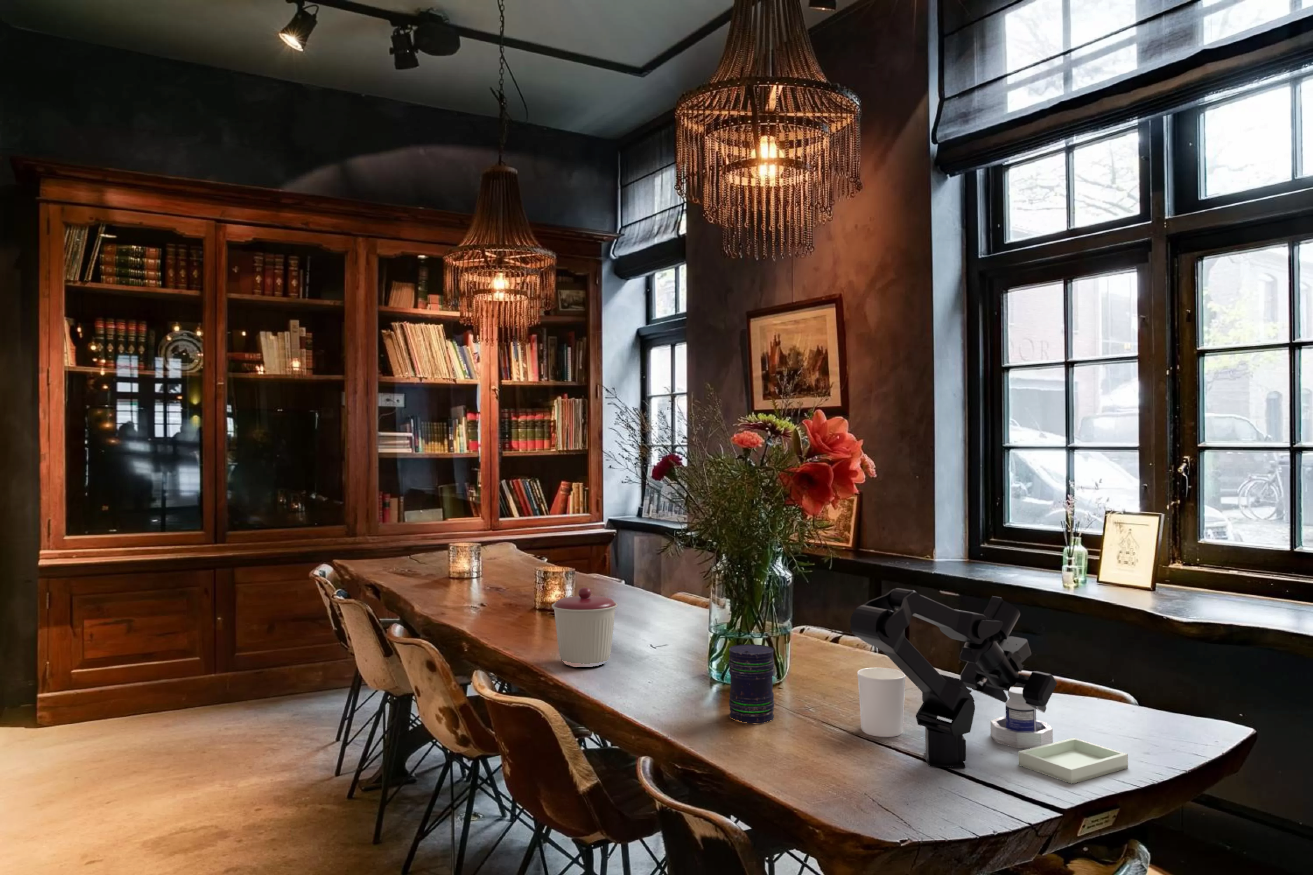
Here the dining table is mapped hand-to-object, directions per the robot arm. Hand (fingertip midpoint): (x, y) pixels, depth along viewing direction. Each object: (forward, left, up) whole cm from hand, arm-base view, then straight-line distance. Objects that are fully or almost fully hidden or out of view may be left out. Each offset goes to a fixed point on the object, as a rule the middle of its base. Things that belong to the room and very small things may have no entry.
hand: (1025, 705), depth 181 cm
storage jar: (-55, +9, -7) cm, 56 cm away
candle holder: (-28, +2, -7) cm, 29 cm away
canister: (-101, +54, -7) cm, 115 cm away
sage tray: (+4, -16, -7) cm, 18 cm away
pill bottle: (-1, -1, -7) cm, 7 cm away
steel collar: (-1, -1, -7) cm, 7 cm away
